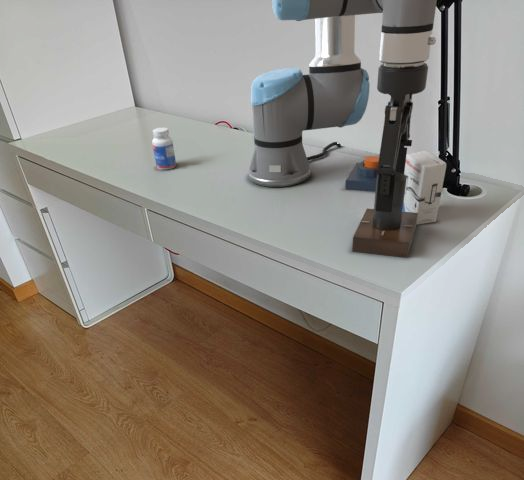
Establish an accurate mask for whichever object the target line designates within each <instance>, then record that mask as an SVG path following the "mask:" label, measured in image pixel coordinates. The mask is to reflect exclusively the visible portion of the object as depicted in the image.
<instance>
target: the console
mask: <svg viewBox="0 0 524 480" xmlns="http://www.w3.org/2000/svg"><path fill="white" fill-rule="evenodd" d="M373 213H374V208H366V209H365V211H364V214H363V215H362V217H361V220H360V222H359V224H358V226H357V228H356V230H355V232H354V233H353V236H352V246H351V248H352V249H351V251H352V252H354V253H363V254H373V255H379V256H389V257H395V258H396V257H397V258H406V259H407V258H408V256H409V253H410V249H411V247H412V246H411V245H412V243H413V239H414V235H415V231H416V229H417V225H416V223H417V216H418V213H413V212H402V219H401V226H400V227H399V228H397V229H394V230H382V229H378V228H376V227H374V226H373Z"/></svg>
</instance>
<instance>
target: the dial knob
mask: <svg viewBox="0 0 524 480" xmlns="http://www.w3.org/2000/svg"><path fill="white" fill-rule="evenodd" d="M395 173H396V179H395V188H394V197H393V207H392V212H380V211H376V199H377V187H378V175H379V174H378V175H377V179H376V190H375V192H374V203H373V209H374V213H373V226H374V227H376V228H378V229H382V230H394V229H397V228H399V227H400V226H401V219H402V211H403V203H404V195H405V187H406V179H407V177H406V175H405V174H402V173H399V172H395Z"/></svg>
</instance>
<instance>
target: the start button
mask: <svg viewBox="0 0 524 480" xmlns="http://www.w3.org/2000/svg"><path fill="white" fill-rule="evenodd" d="M364 161H365V163H364V167H367V168H378V162H379V156H378V155H377V156H376V155H370V156H366V157H364Z"/></svg>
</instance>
